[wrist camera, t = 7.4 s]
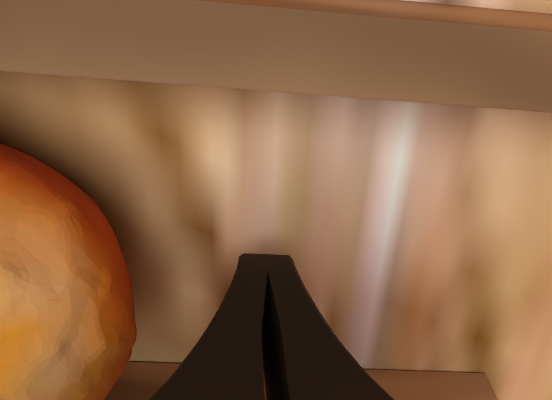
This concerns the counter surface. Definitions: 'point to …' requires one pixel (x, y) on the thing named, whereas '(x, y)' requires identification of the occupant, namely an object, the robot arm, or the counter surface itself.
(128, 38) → the chute
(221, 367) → the robot arm
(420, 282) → the counter surface
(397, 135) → the counter surface
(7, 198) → the fruit
